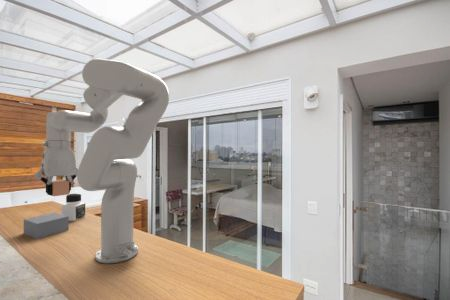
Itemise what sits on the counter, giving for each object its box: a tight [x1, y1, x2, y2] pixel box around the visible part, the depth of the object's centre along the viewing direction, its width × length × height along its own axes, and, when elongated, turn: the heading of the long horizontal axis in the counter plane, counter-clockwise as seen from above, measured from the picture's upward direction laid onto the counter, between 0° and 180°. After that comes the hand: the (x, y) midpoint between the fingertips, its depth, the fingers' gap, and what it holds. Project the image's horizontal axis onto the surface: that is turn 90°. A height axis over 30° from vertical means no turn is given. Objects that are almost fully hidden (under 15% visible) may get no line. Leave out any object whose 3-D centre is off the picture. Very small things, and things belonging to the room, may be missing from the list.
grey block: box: [23, 212, 70, 240], centre depth 94 cm, size 11×11×6 cm
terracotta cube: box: [50, 179, 70, 197], centre depth 87 cm, size 5×5×5 cm
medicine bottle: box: [60, 193, 86, 222], centre depth 111 cm, size 7×7×12 cm
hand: (58, 193), depth 87 cm, fingers closed on terracotta cube, 4 cm apart
